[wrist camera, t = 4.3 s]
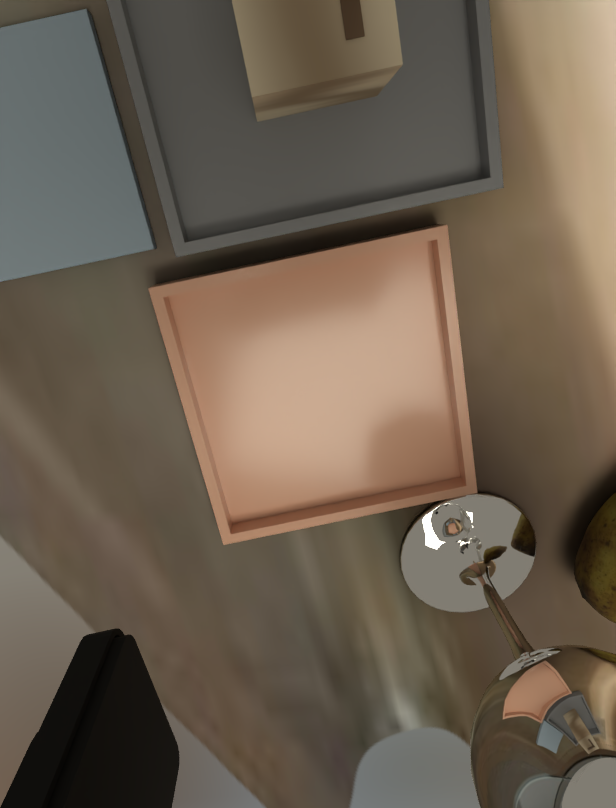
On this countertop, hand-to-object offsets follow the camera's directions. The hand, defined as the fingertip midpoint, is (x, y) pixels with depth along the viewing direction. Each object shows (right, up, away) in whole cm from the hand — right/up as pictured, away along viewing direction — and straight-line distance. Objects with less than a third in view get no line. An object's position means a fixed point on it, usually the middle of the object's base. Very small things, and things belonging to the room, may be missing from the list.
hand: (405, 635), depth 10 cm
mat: (-14, +14, +13) cm, 24 cm away
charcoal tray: (-2, +19, +13) cm, 23 cm away
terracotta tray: (-1, +5, +17) cm, 18 cm away
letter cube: (-2, +18, +12) cm, 22 cm away
